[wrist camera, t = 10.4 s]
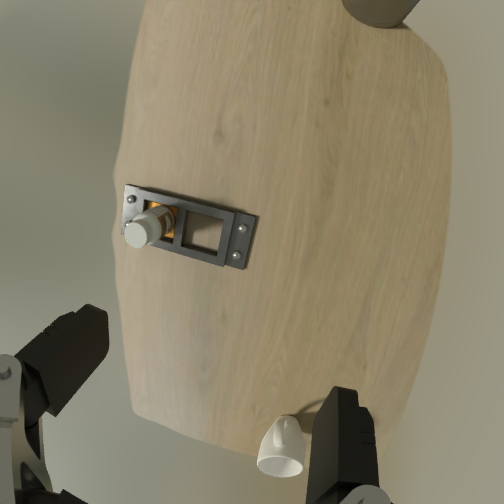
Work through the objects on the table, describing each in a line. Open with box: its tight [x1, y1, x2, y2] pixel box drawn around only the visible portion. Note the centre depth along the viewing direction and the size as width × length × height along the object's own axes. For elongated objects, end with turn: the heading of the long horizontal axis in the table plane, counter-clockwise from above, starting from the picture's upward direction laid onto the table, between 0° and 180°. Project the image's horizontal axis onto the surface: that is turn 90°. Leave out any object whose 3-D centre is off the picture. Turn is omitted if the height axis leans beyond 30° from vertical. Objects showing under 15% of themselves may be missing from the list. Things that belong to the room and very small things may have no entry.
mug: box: [257, 415, 306, 477], centre depth 49 cm, size 12×8×11 cm
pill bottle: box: [124, 205, 175, 248], centre depth 40 cm, size 4×4×8 cm
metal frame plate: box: [121, 185, 256, 270], centre depth 43 cm, size 8×20×1 cm, turn 77°
